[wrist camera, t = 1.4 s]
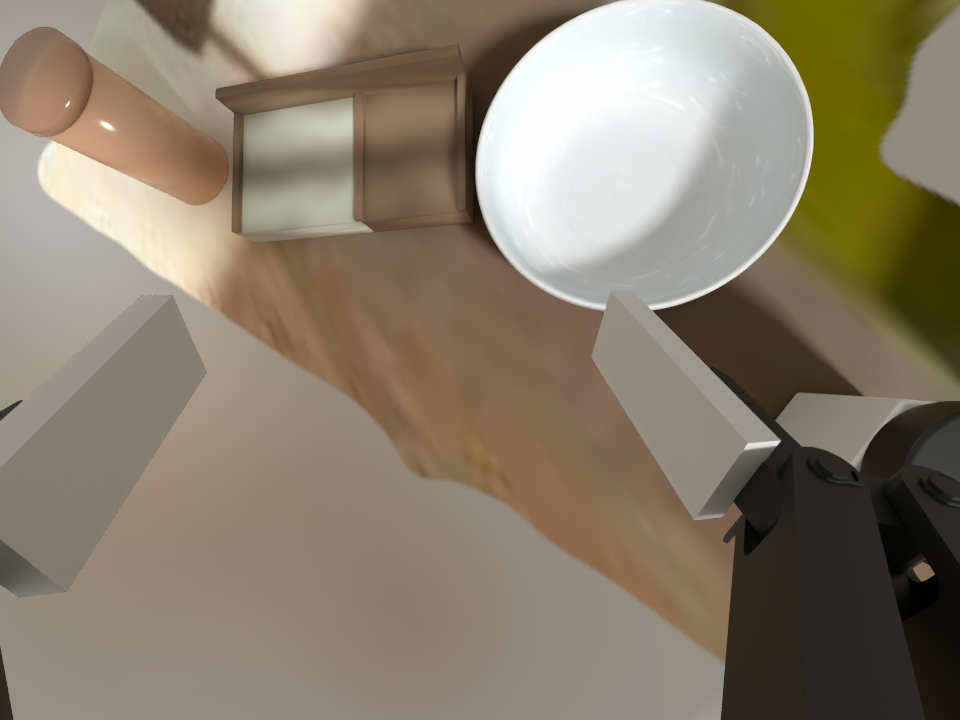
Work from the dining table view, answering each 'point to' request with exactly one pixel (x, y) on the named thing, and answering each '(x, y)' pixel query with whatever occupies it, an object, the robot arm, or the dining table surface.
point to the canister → (106, 117)
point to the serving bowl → (644, 152)
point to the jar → (878, 431)
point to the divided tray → (353, 148)
